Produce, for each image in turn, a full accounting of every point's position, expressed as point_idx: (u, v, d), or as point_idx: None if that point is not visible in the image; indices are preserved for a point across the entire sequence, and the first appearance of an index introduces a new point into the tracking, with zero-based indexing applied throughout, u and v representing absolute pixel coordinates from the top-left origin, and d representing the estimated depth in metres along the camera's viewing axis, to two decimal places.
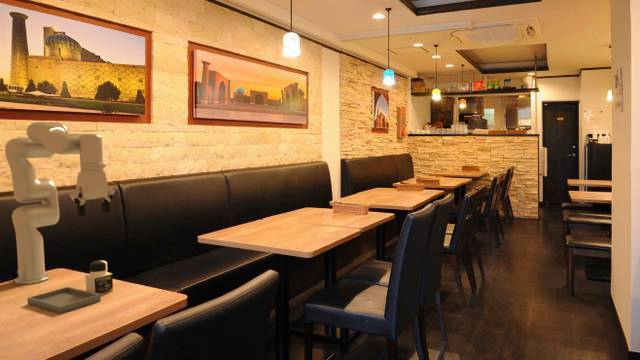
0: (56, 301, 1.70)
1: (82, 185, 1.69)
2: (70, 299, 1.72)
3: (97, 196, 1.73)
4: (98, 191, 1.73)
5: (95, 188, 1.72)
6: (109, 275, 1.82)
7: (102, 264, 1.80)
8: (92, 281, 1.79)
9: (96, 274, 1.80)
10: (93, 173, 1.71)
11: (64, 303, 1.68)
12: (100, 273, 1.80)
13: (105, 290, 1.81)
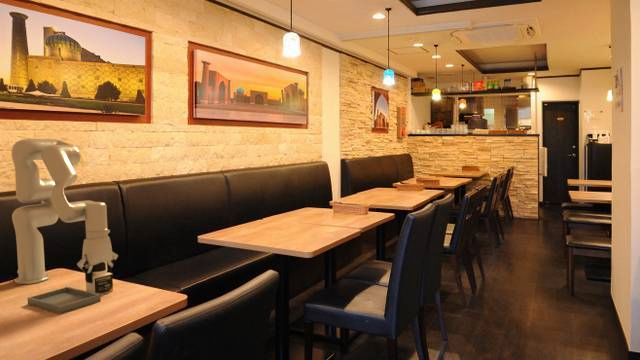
0: (56, 301, 1.70)
1: (88, 253, 1.77)
2: (70, 299, 1.72)
3: (102, 261, 1.81)
4: (103, 257, 1.81)
5: (100, 254, 1.80)
6: (109, 275, 1.82)
7: (102, 264, 1.80)
8: None
9: (96, 274, 1.80)
10: (98, 240, 1.79)
11: (64, 303, 1.68)
12: (100, 273, 1.80)
13: (105, 289, 1.81)
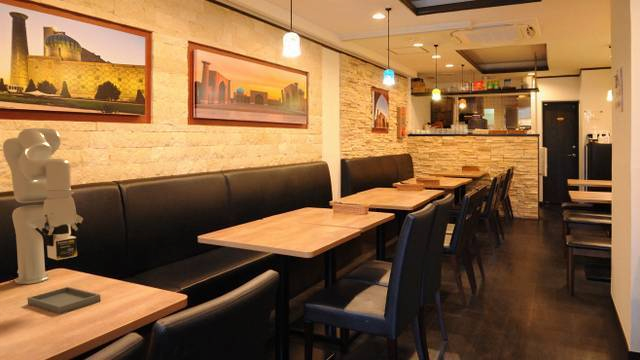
0: (56, 301, 1.70)
1: (48, 213, 1.64)
2: (70, 299, 1.72)
3: (64, 224, 1.68)
4: (65, 218, 1.68)
5: (62, 216, 1.67)
6: (72, 238, 1.69)
7: (64, 226, 1.67)
8: None
9: (58, 237, 1.67)
10: (60, 200, 1.66)
11: (64, 303, 1.68)
12: (62, 236, 1.67)
13: (68, 254, 1.68)
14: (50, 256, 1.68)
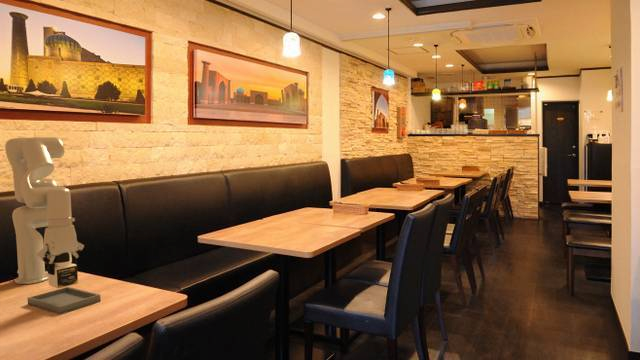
0: (56, 301, 1.70)
1: (49, 242, 1.64)
2: (70, 299, 1.72)
3: (65, 252, 1.69)
4: (66, 246, 1.69)
5: (63, 244, 1.68)
6: (73, 266, 1.69)
7: (65, 254, 1.68)
8: None
9: (59, 265, 1.67)
10: (61, 229, 1.67)
11: (64, 303, 1.68)
12: (63, 264, 1.67)
13: (69, 282, 1.68)
14: (51, 284, 1.68)
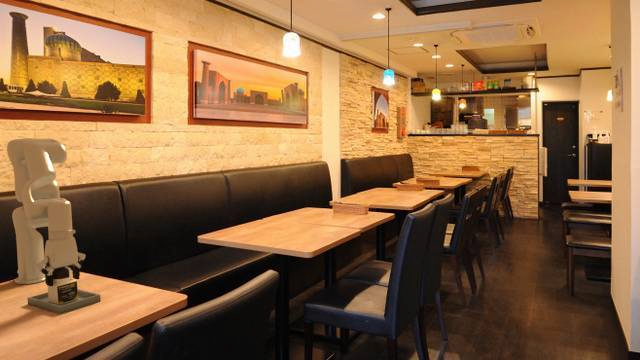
0: None
1: (50, 255, 1.65)
2: None
3: (66, 264, 1.69)
4: (67, 259, 1.69)
5: (64, 256, 1.68)
6: (73, 282, 1.70)
7: (65, 271, 1.68)
8: (54, 289, 1.66)
9: (59, 281, 1.67)
10: (61, 241, 1.67)
11: (64, 303, 1.68)
12: (63, 280, 1.68)
13: (69, 298, 1.69)
14: (51, 300, 1.68)
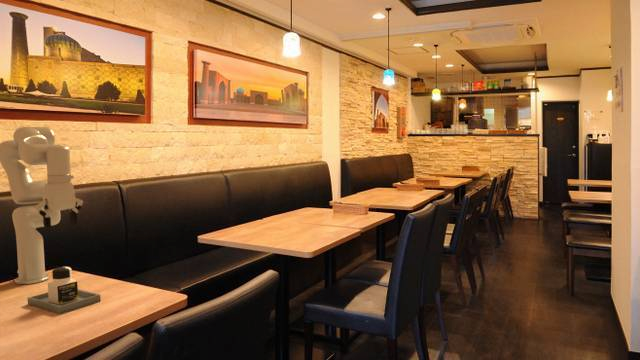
0: None
1: (48, 197, 1.69)
2: None
3: (64, 208, 1.74)
4: (65, 203, 1.74)
5: (61, 200, 1.73)
6: (74, 282, 1.70)
7: (66, 271, 1.68)
8: (54, 289, 1.67)
9: (59, 281, 1.67)
10: (59, 185, 1.72)
11: (64, 303, 1.68)
12: (64, 280, 1.68)
13: (69, 298, 1.69)
14: (51, 300, 1.68)
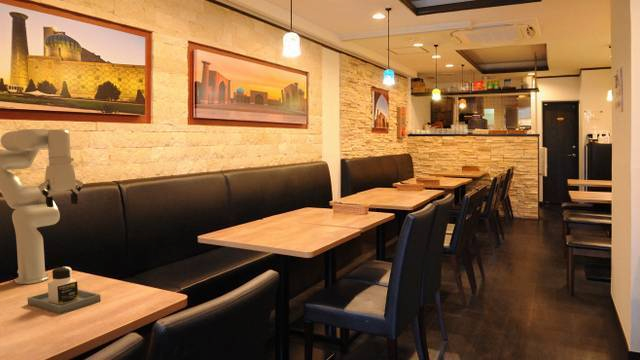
0: None
1: (50, 178, 1.79)
2: None
3: (65, 188, 1.83)
4: (66, 183, 1.83)
5: (63, 181, 1.82)
6: (74, 282, 1.70)
7: (66, 271, 1.68)
8: (54, 289, 1.67)
9: (59, 281, 1.67)
10: (61, 166, 1.81)
11: (64, 303, 1.68)
12: (64, 280, 1.68)
13: (69, 298, 1.69)
14: (51, 300, 1.68)
